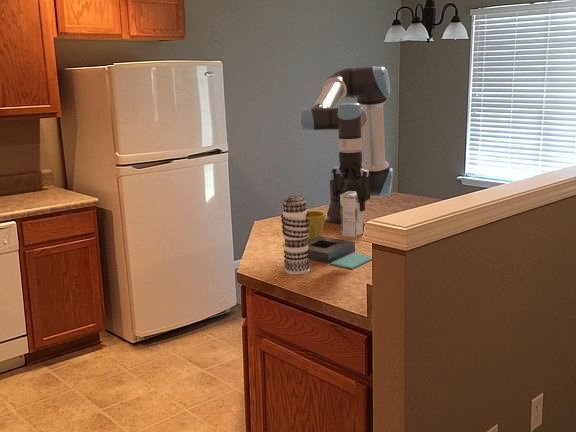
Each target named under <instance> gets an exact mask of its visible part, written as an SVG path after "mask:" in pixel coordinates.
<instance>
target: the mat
mask: <svg viewBox="0 0 576 432" xmlns="http://www.w3.org/2000/svg"><path fill="white" fill-rule="evenodd" d="M371 256H372V255H368V254H363V253H357V252H353V253H350V254H348V255H346V256H344V257H342V258H339V259H337V260H335V261H333V262H330V263H329V264H330V266H334V267H338V268H339V267H340V268H344V269H349V270H354V269H356V268H358V267H360V266H362V265H364V264H366V263H368V262H371V261H372V260H371Z"/></svg>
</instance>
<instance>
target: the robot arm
mask: <svg viewBox="0 0 576 432" xmlns="http://www.w3.org/2000/svg"><path fill="white" fill-rule="evenodd" d="M389 76H390V75H389V73H388V70H387V68H386V67H385V66H374V65H373V66H362V67H361V66H360V67H359V66H358V67H347V68H342V69H339V70H338V71H336V72H333V73H332V74H331V75H329V76H328V77H327V78H326V79H325V81H324V82H323V84H322V87H321V88H322V90H321V93H320V94H319V96H318V97H317V99H316V101H315V103H314V104H313V106H312V107H308V108H306V107H305V108H303V109H302V110H301V112H300V124H301V128H302V129H303V130H305V131H331V130H332V131H333V130H334V131H335V130H336V131H338V132H337V133H338V150H339V153H338V159H339V160H338V161H339V166H334V167H333V168H331V169H330V171H329V179H328V180H329V198H330V199H329V200H330V202H329V206H328V210H327V212H326V220H327V221H328V222H329V223H331V224H332V223H334V224H341V214H340V194H343V193H345V192H348V191H356V193H357V196H358V200H359V201H358V202H357V221H358V222H359V221H362V220H363V221H364V218H365V217H364V212H365V211H366V201H370V200H371V197H386V196H389V195H390V193H391V191H392V184H393V180H394V179H393V177H394V168H392V167H390V163H389V162H388V161H386V146H385V145H386V143H385V142H386V141H385V124H384V120H385V117H384V104H386V102H387V100H388V98H389V97H390V96H391V81H390V77H389ZM350 98H351V99H356V102H344V103H340V101H341V100H343V99H350ZM362 141H363V142H362ZM362 150H363V151H362ZM363 156H364V157H363ZM363 158H364V162H363Z"/></svg>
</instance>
